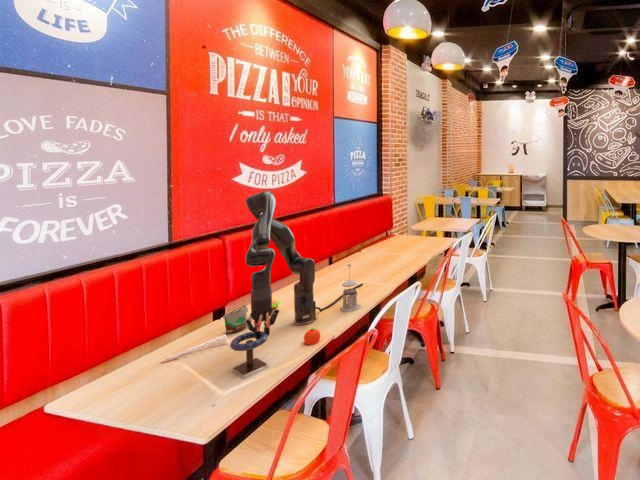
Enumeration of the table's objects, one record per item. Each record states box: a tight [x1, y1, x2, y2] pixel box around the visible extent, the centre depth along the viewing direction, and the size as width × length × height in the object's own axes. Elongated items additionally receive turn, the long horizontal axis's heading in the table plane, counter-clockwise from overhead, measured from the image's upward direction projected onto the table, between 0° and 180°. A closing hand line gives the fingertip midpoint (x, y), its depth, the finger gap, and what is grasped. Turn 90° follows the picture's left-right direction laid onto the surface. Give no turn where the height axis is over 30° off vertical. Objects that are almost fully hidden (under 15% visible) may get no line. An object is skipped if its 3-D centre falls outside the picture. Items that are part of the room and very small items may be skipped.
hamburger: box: [272, 295, 281, 310], centre depth 212 cm, size 12×12×9 cm
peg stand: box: [232, 339, 268, 376], centre depth 154 cm, size 9×9×12 cm
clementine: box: [303, 327, 321, 345], centre depth 175 cm, size 8×7×7 cm
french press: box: [340, 263, 360, 312], centre depth 215 cm, size 10×12×25 cm
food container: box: [222, 304, 249, 335], centre depth 191 cm, size 12×6×10 cm, turn 168°
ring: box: [229, 330, 269, 352], centre depth 154 cm, size 13×13×3 cm
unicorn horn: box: [159, 334, 228, 363], centre depth 168 cm, size 5×24×5 cm, turn 127°
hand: (262, 338), depth 158 cm, fingers closed on ring, 2 cm apart
